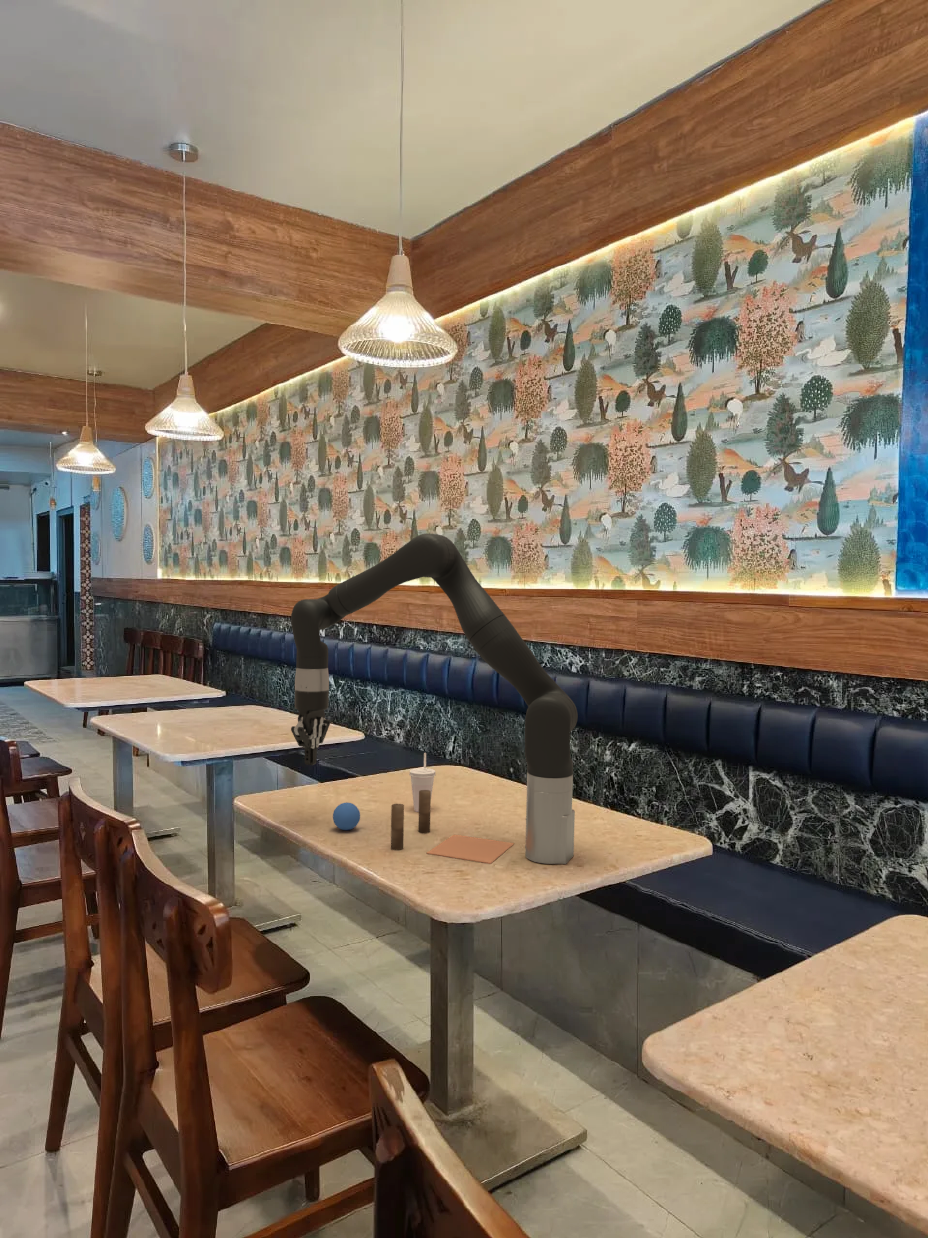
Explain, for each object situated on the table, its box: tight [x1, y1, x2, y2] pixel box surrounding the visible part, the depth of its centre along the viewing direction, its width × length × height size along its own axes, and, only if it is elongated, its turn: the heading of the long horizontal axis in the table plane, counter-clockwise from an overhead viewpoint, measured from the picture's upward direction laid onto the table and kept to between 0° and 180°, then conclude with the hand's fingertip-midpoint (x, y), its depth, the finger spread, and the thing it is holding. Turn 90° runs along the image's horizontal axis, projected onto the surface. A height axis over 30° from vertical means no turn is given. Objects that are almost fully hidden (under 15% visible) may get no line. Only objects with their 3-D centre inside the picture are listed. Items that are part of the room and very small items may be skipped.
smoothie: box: [409, 752, 437, 813], centre depth 206 cm, size 6×6×14 cm
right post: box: [417, 790, 432, 834], centre depth 188 cm, size 3×3×9 cm
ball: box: [332, 802, 361, 831], centre depth 189 cm, size 6×6×6 cm
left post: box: [390, 803, 405, 851], centre depth 176 cm, size 3×3×9 cm
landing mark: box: [426, 833, 515, 865], centre depth 177 cm, size 14×14×1 cm
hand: (310, 764), depth 192 cm, fingers closed
